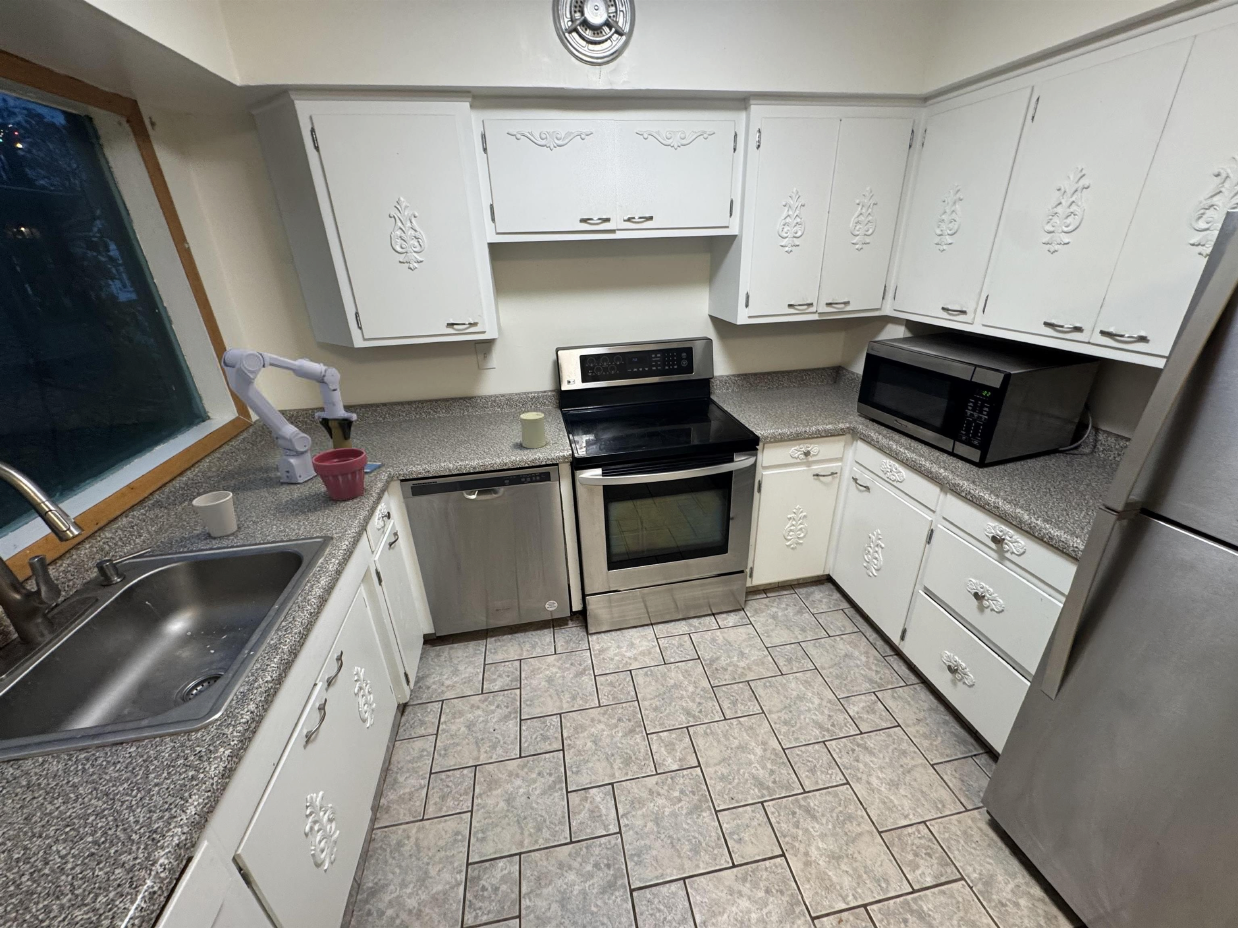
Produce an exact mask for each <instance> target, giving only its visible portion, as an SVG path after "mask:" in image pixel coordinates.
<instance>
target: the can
mask: <svg viewBox="0 0 1238 928" xmlns="http://www.w3.org/2000/svg"><path fill="white" fill-rule="evenodd" d="M519 420H520V430H521V445H522V447H524V448H527V449H537V448H542V447H544V446H546V445H547V441H546V439H547V438H546V429H545V428H546V427H545V414H544V413H542V412H538V411H530V412H529V411H528V412H524V413H522V414H520V415H519Z"/></svg>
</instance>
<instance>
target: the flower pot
mask: <svg viewBox="0 0 1238 928" xmlns="http://www.w3.org/2000/svg"><path fill="white" fill-rule="evenodd" d="M311 459H312V464H313V468H314V472H315V473H316V474H317V475H318V476H319V478H320V480H321V481H322V483H323V486H324V487H325V489H326V490H327V493H328V495H329V496H330V498H331V499H332V500H335V501H347V500H352V499H355V498H358V497H360V496H362V495H363V494H364V492H365V491H364V490H365V489H364V488H365V473H364V469H365V466H366V465H367V462H368V459H367V454H366V451H365V450H363V449H361V448H357V447H352V448H341V449H335V450H334V449H330V450H326V451H322V452H320V453H318V454H316V455H315V456H313V457H312V458H311Z"/></svg>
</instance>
